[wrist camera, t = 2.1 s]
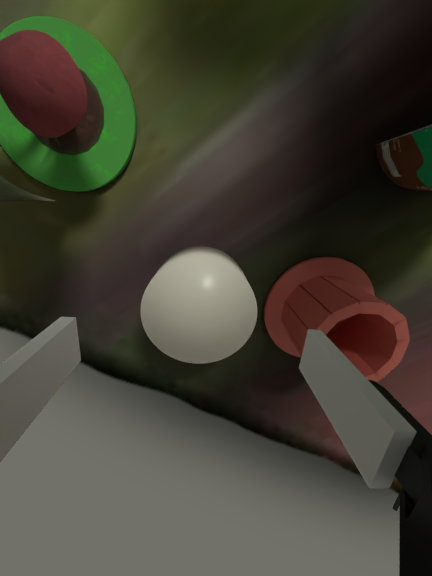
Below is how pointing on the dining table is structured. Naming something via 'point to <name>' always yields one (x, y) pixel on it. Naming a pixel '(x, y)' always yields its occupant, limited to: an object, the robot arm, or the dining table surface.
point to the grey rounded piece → (199, 306)
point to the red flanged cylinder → (336, 314)
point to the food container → (408, 159)
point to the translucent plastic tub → (62, 108)
